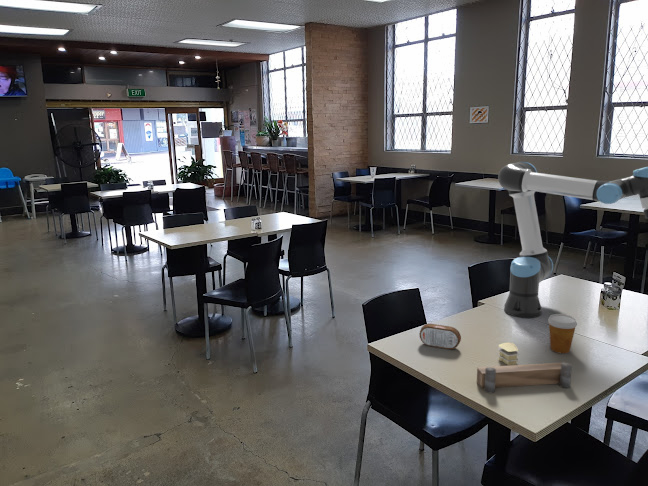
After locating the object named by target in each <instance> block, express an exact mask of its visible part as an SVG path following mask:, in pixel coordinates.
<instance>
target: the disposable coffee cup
mask: <svg viewBox="0 0 648 486" xmlns="http://www.w3.org/2000/svg"><path fill="white" fill-rule="evenodd" d="M547 322H548V326H549V327H548V329H549V331H548V332H549V341H550V343H549V345H550V350H551V351H553V352H555V353H558V354H569V353H570V351H571V349H572V348H571V347H572V342H573V338H574V335H575V331H576V330H575V329H576V327H577V326H578V322H577V320H576V317H574V316H572V315H567V314H562V313H561V314H560V313H555V314H551V315H549V317H548V319H547Z"/></svg>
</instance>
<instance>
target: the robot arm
mask: <svg viewBox="0 0 648 486" xmlns="http://www.w3.org/2000/svg"><path fill="white" fill-rule="evenodd" d="M497 180H498V183H499V185H500V186H501V188H503V189H505V190H506V191H508V196H509V197H512V199H513V204H514V210H515V215H516V221H517V227H518V232H519V237H520V238H519V239H520V244H521V251H520V252H519V257H516V258H514V259H513V260H512V261H511V264H510V267H509V268H510V269H509V270H510V271H509V272H510V273H509V275H510V276H509V292H508V295H507V298H506V301H505V302H504V306H503V311H504V312H505V313H506V314H508V315H510V316H513V317H517V318H524V319H525V318H526V319H530V318H538V317H540V316H542V309H543V308H542V305H541V302H540V298H539V292H540V291H539V290H540V283H542V281H545V280H546V279H548V278H549V276H551V274H552V272H553V270H554V263H553V260H552V258H551V257H550V256H549V253H548V250H547V249H546V248H545V247H544V246H543V240H542V236H541V229H540V222H539V217H538V211H537V206H536V201H535V200H536V199H535V193H536V192H537V193H538V192H539V193H545V194H551V195H559V196H562V197H563V196H565V197H571V198H577V199H585V200H591V201H596V202H600V203H602V204H605V205H611V204H615V203H616V202H618V201H620V200H622V199H624V198H627V197H633V196H636V195H638V196H639V200H640V203H641V206H642V209H643V215H644V218H645V219H646V220H648V166H645V167H641V168H637V169H635V170H633V171H632V175H631V176H627V177H622V178H618V179H615V180H614V179H613V180H609V181H604V180H603V181H602V180H594V179H588V178H581V177H580V178H579V177H572V176H571V177H570V176H565V175H557V174H549V173H542V172H538V170H537V168H536V166H534V164H532V163H530V162H527V161H518V162H513V163H508V164H506V165H504V166H502V168H501V169H500V170H499V172H498V175H497Z"/></svg>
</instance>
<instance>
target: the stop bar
mask: <svg viewBox="0 0 648 486" xmlns="http://www.w3.org/2000/svg"><path fill="white" fill-rule="evenodd" d="M572 368H573V365H572V364H571V363H569V362H561V361H560V362H550V363H549V362H548V363H547V362H546V363H530V364H529V363H528V364H515V365H497V366H496V365H495V366H483V367H481V366H480V367H479V366H478V367H477V368H476V383H477V384H478V386H479V387H480V389H484V392H486V393H490V394H493V393H495V392H496V388H505V387H507V388H509V387H525V386H539V385H550V384H551V385H554V384H556V385H557V384H558V385H559V387H561V388H564V389H569V388H570V387H571V381H572V371H573V370H572Z"/></svg>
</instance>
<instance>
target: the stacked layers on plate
mask: <svg viewBox="0 0 648 486" xmlns="http://www.w3.org/2000/svg"><path fill="white" fill-rule="evenodd" d="M498 351H499V352H498V354H497V355H498V360H499V361H500V362H503V363H504V364H505V365H506V366H511V365H518V364H517V363H518V362H517V361H519V358H518V356H519V349H518V347H517V346H516V344H514V343H513V342H503V343H501V344H500V343H499V344H498Z"/></svg>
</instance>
